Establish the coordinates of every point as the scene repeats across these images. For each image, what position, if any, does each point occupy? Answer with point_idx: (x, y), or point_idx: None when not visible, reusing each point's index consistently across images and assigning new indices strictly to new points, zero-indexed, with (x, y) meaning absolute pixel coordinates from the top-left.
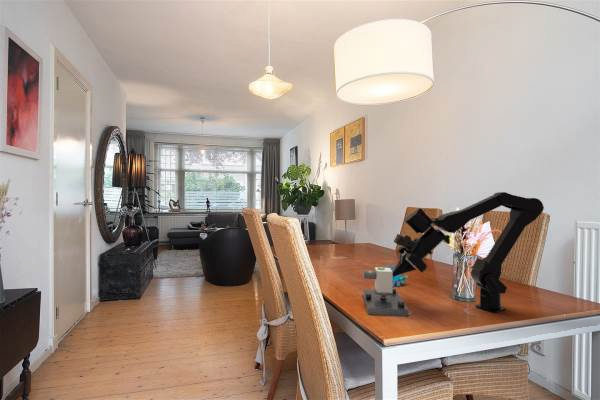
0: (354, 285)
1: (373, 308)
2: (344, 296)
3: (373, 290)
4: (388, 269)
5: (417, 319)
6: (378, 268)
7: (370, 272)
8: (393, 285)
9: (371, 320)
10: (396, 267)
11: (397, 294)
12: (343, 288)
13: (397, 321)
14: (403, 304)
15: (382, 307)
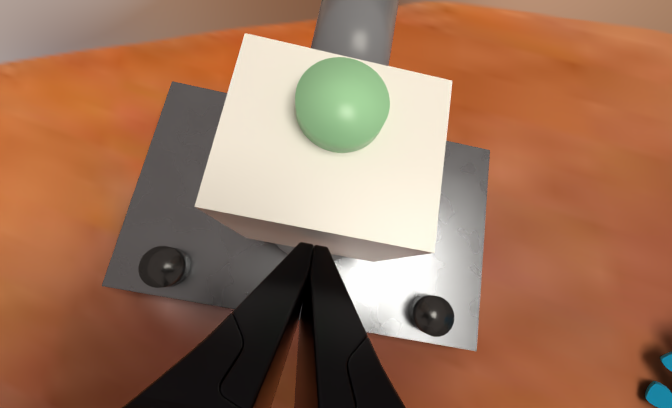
0: (635, 164)
1: (164, 106)
2: (444, 68)
3: (471, 203)
4: (332, 201)
5: (67, 318)
6: (319, 63)
7: (328, 21)
8: (651, 398)
9: (108, 91)
10: (286, 304)
11: (392, 329)
12: (573, 95)
13: (67, 202)
14: (143, 275)
15: (165, 153)
